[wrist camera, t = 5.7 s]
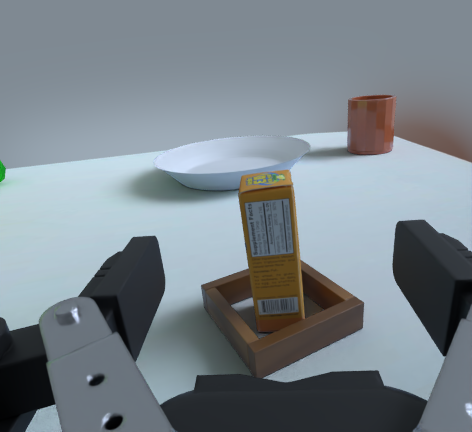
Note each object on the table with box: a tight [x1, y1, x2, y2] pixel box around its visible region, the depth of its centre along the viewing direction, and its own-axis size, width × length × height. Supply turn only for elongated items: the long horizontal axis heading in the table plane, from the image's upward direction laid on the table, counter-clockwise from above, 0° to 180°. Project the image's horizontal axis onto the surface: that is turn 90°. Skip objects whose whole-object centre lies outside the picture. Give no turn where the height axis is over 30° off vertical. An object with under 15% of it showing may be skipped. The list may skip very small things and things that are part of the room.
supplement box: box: [238, 169, 305, 332], centre depth 23 cm, size 3×3×10 cm
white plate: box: [153, 136, 310, 191], centre depth 59 cm, size 25×25×4 cm
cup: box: [347, 95, 396, 155], centre depth 63 cm, size 8×8×9 cm
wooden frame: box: [201, 260, 364, 378], centre depth 24 cm, size 8×8×2 cm
